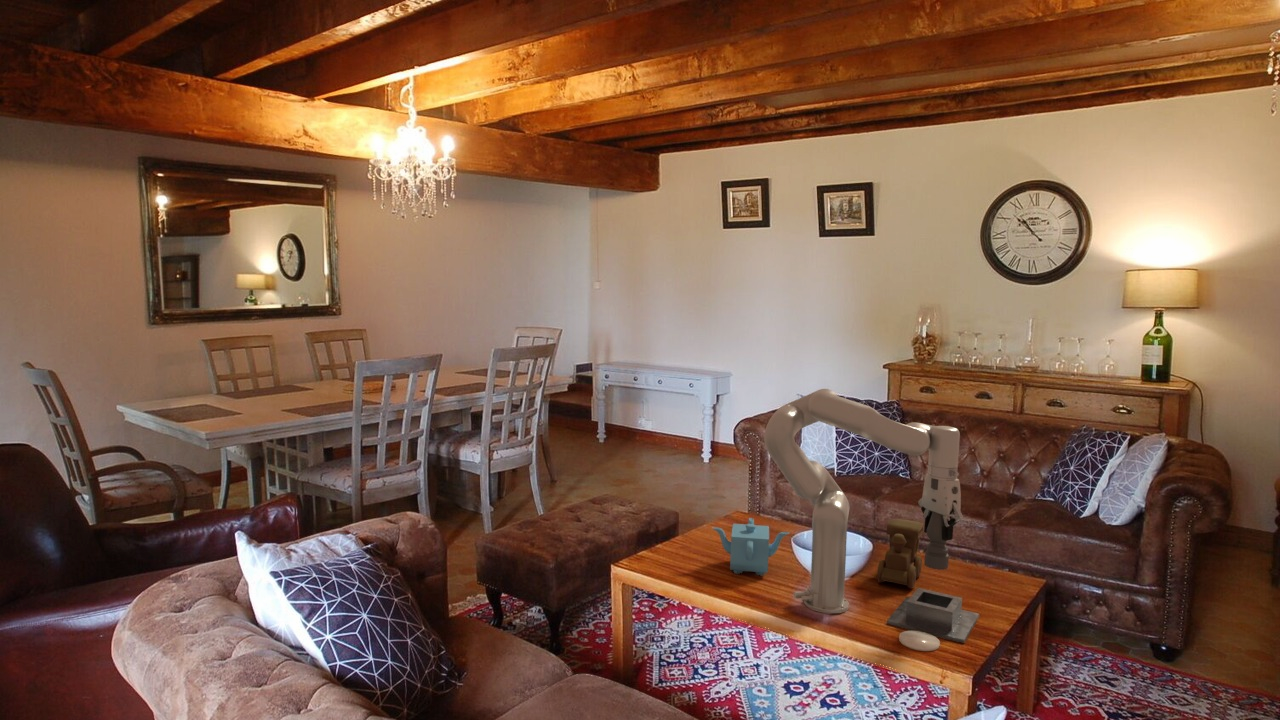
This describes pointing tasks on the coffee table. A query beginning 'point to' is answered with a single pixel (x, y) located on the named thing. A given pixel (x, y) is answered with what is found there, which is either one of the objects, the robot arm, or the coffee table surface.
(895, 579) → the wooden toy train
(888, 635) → the coffee table surface
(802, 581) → the coffee table surface
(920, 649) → the coaster
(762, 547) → the teakettle
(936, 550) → the candle holder
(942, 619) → the socket
